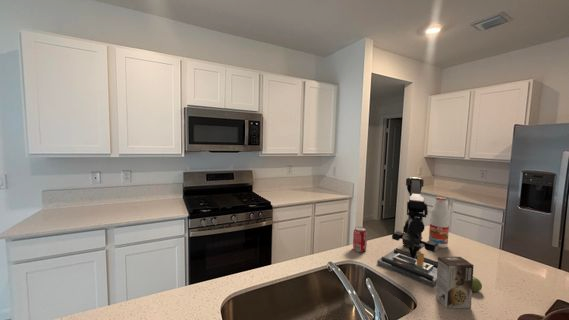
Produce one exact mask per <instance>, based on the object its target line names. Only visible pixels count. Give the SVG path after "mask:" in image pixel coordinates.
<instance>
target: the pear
mask: <svg viewBox="0 0 569 320" xmlns="http://www.w3.org/2000/svg"><path fill="white" fill-rule="evenodd" d="M482 287H483V284H482V282H481V280H479V278H477V277H475V276H473V283H472V292H476V293H477V292H480V291H481V290H482Z"/></svg>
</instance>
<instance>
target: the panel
mask: <svg viewBox="0 0 569 320" xmlns="http://www.w3.org/2000/svg"><path fill="white" fill-rule="evenodd" d="M382 257H385V258H387V259H390V260H393V261H395V262H398V263H400V264H403V265H406V266H408V267H411V268H413V269H416V270H419V271H421V272H424V273H426V274H429V275H432V276H433V280H432V279H430V278H427V277H425V276H422V275H420V274H417V273H415V272H412V271H410V270H407V269H405V268H402V267H400V266H397V265H394V264H392V263H389V262H387V261H384V260H382V259H381V258H382ZM382 257H380V258H379V259H377V261H376V263H377V265H378V266H380V267H382V268H386V269H388V270H390V271H392V272H395V273H398V274H400V275H402V276H405V277H406V278H407V277H408V278H409V279H412V280H414V281H415V282H416V281H417V282H419V283H421V284H423V285H426V286H428V287H431V288H434V287H435V286H436V283H437V267H436V266H433V265H430V264H428V263H425V262H424V264H426V268H425V267H422V266H419V265H416V264H414V263H415V262H417V259H412V258H411V257H408V256H405V255H402V254H400V253H396V252H394V249H393V250H391V251H390V252H389V253H387V254H385V255H384V256H382Z"/></svg>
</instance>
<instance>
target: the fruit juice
mask: <svg viewBox="0 0 569 320" xmlns="http://www.w3.org/2000/svg"><path fill="white" fill-rule="evenodd" d="M446 201H447V198H446V197H444V196H443V197H442V196H436V197H435V202H434V204H433V206H432V208H431V210H430V214H431V217H430V219H429V228H428V229H429V230H428V241H429V240H430V241H433V242H437V243H438V244H439V248H440V249H444V248H447V247H448V245H449V228H450V221H449V217H450V211H449V209H448V206H447V204H446Z"/></svg>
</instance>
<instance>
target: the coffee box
mask: <svg viewBox="0 0 569 320" xmlns="http://www.w3.org/2000/svg"><path fill="white" fill-rule="evenodd" d="M437 262H438V266H437V283H436V285H435V286H436V287H435V299H437V300H438V302H440V303H441V305H442V306H444V307H445V308H446V309H471V308H472V297H473V291H472V283H473V277H474V264H472V263H471V262H470V261H468V260H467V259H466V258H463V257H462V256H438V257H437Z"/></svg>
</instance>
